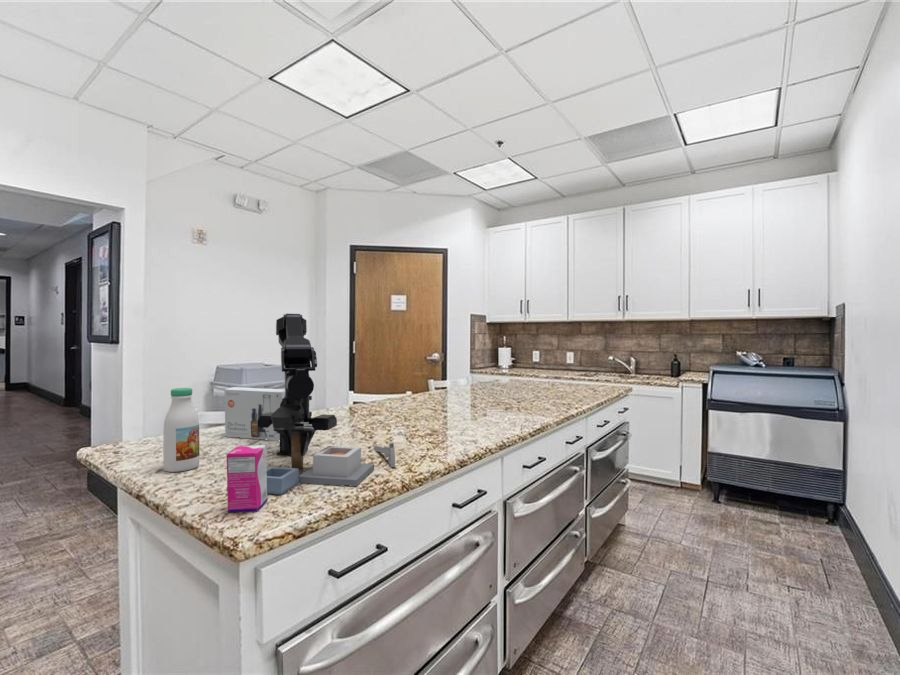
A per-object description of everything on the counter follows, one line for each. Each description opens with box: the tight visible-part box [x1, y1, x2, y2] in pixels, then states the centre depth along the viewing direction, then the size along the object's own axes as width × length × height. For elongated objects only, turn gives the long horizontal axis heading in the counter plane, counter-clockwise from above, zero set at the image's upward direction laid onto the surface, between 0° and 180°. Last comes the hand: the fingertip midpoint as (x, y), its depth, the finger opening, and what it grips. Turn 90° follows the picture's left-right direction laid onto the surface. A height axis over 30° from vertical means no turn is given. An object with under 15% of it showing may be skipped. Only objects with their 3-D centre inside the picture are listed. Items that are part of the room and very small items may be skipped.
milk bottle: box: [162, 387, 200, 473], centre depth 109 cm, size 8×8×20 cm
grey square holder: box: [299, 445, 375, 487], centre depth 104 cm, size 14×12×6 cm
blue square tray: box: [267, 466, 300, 496], centre depth 96 cm, size 7×7×4 cm
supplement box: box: [226, 444, 268, 513], centre depth 86 cm, size 6×6×12 cm
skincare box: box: [224, 386, 285, 441], centre depth 141 cm, size 21×5×16 cm, turn 77°
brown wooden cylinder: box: [290, 428, 304, 472], centre depth 109 cm, size 3×3×10 cm
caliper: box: [373, 442, 396, 469], centre depth 120 cm, size 20×1×6 cm, turn 23°
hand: (297, 455), depth 109 cm, fingers closed on brown wooden cylinder, 3 cm apart
